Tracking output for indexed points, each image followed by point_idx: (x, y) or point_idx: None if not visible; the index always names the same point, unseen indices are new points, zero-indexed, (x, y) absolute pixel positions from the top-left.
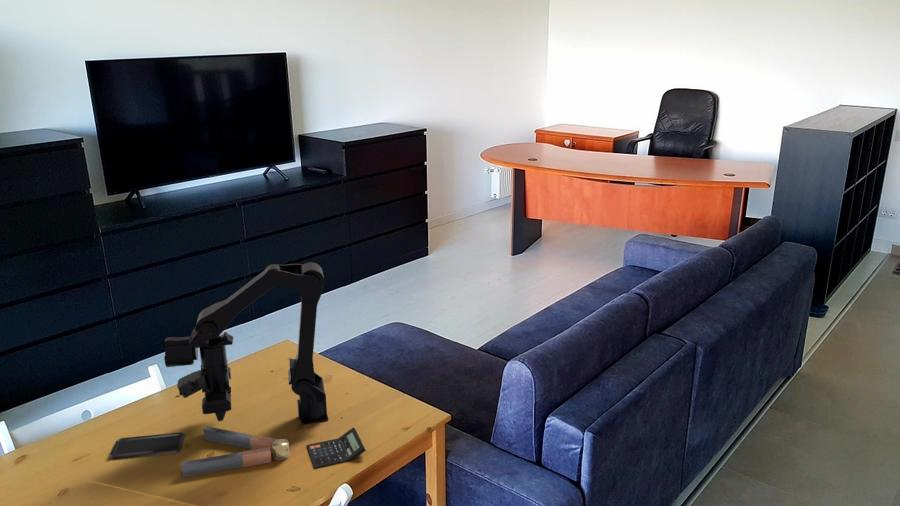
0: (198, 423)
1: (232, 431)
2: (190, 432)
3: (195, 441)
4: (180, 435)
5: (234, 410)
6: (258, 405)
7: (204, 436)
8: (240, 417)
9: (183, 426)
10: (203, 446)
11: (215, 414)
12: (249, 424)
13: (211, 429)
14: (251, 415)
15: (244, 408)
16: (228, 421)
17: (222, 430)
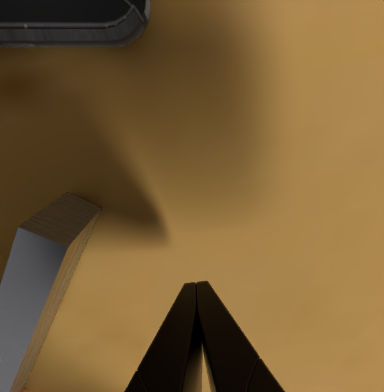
0: (285, 118)
1: (9, 386)
2: (178, 80)
3: (63, 135)
4: (107, 5)
5: (358, 290)
6: (357, 369)
7: (53, 203)
8: (277, 320)
9: (276, 3)
10: (10, 192)
11: (158, 333)
12: (203, 355)
13: (23, 281)
14: (279, 354)
15: (357, 326)
16: (255, 277)
17: (15, 342)
